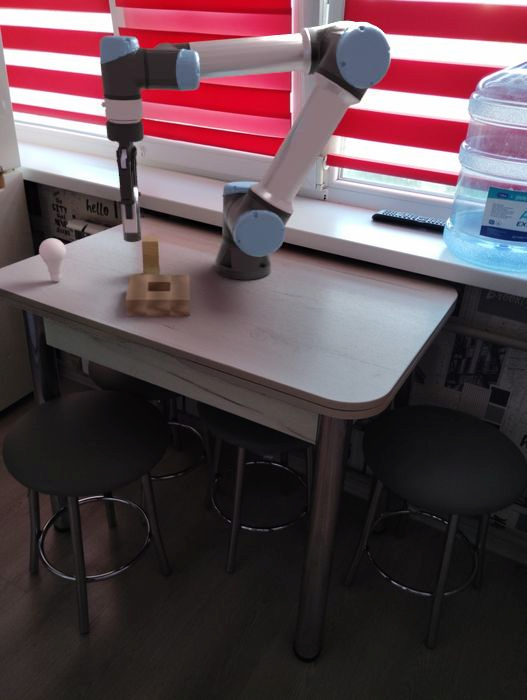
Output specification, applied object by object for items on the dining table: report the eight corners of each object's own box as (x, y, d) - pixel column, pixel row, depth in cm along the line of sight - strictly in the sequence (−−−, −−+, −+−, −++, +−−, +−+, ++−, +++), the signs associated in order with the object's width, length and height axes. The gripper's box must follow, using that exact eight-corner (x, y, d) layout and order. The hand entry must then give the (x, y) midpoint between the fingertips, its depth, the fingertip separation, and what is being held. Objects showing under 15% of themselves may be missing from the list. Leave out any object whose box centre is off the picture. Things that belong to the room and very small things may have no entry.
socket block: (189, 289, 147) (189, 274, 145) (189, 315, 135) (189, 299, 133) (131, 289, 145) (130, 274, 143) (126, 315, 133) (125, 299, 131)
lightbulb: (62, 288, 143) (56, 244, 138) (38, 284, 144) (32, 241, 139) (74, 278, 148) (69, 236, 143) (51, 275, 149) (45, 233, 144)
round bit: (142, 236, 138) (139, 184, 132) (140, 242, 135) (137, 189, 129) (124, 235, 138) (120, 184, 132) (122, 241, 134) (118, 189, 128)
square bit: (160, 272, 155) (158, 236, 150) (159, 278, 151) (158, 241, 146) (144, 272, 154) (142, 235, 149) (143, 278, 151) (141, 241, 146)
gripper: (111, 112, 130) (120, 216, 142) (99, 127, 115) (110, 241, 127) (146, 113, 131) (152, 217, 142) (138, 128, 116) (145, 242, 128)
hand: (132, 228), depth 135 cm, fingers closed on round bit, 4 cm apart
